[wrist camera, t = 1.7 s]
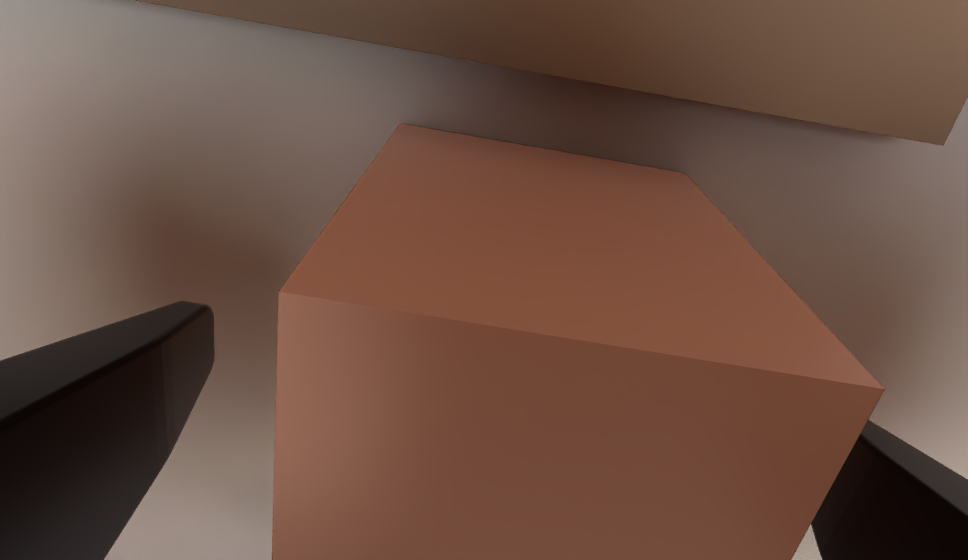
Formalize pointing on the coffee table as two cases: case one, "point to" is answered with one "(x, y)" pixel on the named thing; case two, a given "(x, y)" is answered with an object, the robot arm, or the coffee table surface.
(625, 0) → the board
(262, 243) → the coffee table surface
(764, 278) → the salmon orange block
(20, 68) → the coffee table surface
